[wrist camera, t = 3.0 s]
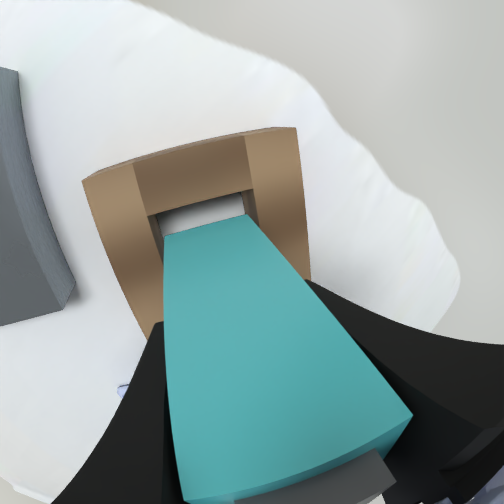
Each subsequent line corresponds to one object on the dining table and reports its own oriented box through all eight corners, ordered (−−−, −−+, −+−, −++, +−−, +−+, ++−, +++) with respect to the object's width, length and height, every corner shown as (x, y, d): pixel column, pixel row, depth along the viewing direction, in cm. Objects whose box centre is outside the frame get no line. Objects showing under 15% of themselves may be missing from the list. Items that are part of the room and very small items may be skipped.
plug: (259, 283, 14) (384, 494, 4) (187, 304, 13) (245, 546, 4) (247, 214, 12) (439, 448, 2) (164, 236, 11) (195, 546, 2)
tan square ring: (292, 277, 19) (311, 300, 17) (151, 317, 18) (151, 347, 15) (273, 126, 15) (296, 127, 12) (97, 170, 13) (81, 180, 10)
